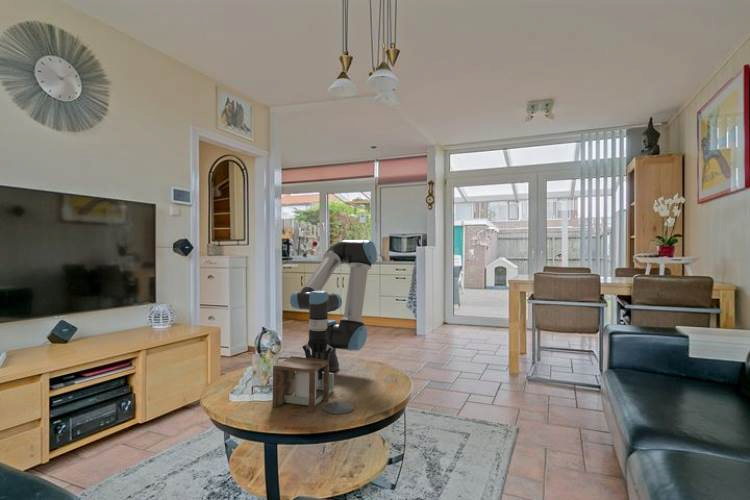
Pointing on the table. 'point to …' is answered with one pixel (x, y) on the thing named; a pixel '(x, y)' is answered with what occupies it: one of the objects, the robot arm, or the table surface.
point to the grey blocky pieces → (305, 401)
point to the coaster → (338, 407)
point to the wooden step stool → (286, 378)
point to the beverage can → (303, 384)
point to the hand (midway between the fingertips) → (317, 387)
